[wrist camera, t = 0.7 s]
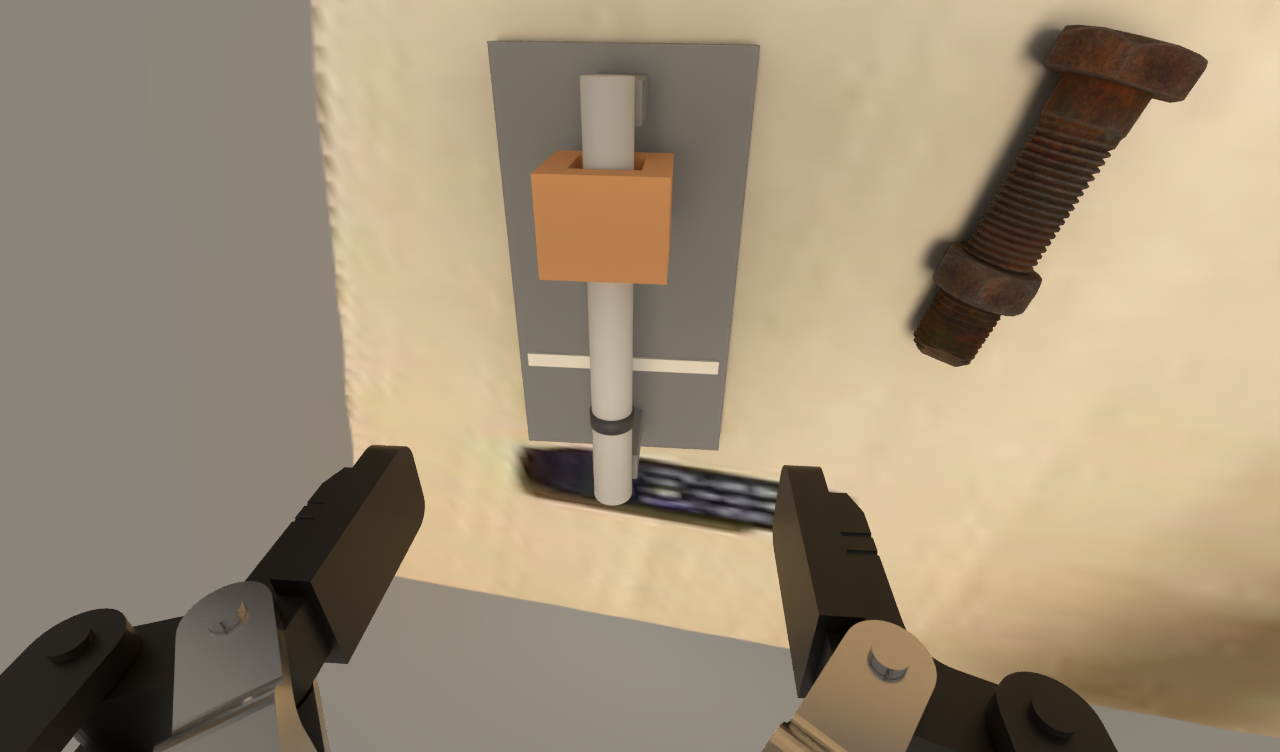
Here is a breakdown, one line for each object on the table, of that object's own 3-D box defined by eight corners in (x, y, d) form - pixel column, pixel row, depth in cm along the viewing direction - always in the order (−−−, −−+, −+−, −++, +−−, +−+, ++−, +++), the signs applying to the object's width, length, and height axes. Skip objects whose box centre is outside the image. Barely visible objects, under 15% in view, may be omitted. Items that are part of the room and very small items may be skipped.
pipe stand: (496, 41, 27) (430, 42, 20) (756, 45, 26) (781, 47, 19) (534, 426, 38) (500, 513, 31) (717, 436, 37) (724, 527, 30)
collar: (557, 150, 25) (530, 173, 21) (673, 153, 25) (670, 177, 20) (562, 241, 27) (539, 279, 23) (670, 244, 27) (666, 284, 22)
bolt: (903, 318, 34) (1065, 33, 26) (990, 358, 33) (1192, 64, 25) (881, 347, 30) (1068, 15, 22) (980, 396, 28) (1224, 52, 20)
